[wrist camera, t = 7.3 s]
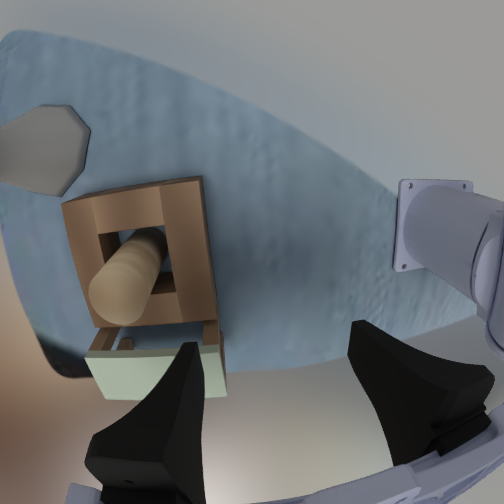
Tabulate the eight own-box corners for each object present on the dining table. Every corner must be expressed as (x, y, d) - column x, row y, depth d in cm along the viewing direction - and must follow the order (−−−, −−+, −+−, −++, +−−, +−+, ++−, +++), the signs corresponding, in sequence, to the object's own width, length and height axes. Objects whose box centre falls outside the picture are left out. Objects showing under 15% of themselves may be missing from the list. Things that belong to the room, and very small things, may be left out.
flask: (8, 173, 17) (-78, 197, 7) (41, 91, 15) (-45, 74, 6) (67, 212, 19) (-16, 259, 9) (106, 124, 17) (25, 112, 8)
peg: (172, 261, 21) (152, 321, 13) (135, 268, 21) (100, 327, 13) (163, 222, 20) (134, 265, 12) (125, 230, 20) (80, 275, 12)
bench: (217, 300, 22) (218, 352, 16) (223, 341, 24) (227, 396, 18) (110, 309, 22) (84, 357, 16) (124, 347, 23) (105, 399, 17)
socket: (201, 175, 19) (198, 180, 16) (216, 294, 22) (217, 319, 19) (83, 194, 18) (61, 203, 15) (109, 304, 22) (95, 327, 18)
